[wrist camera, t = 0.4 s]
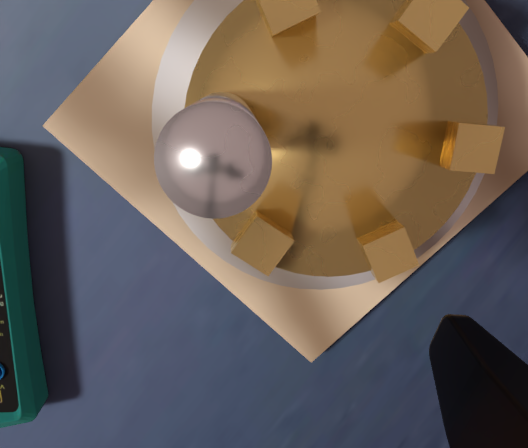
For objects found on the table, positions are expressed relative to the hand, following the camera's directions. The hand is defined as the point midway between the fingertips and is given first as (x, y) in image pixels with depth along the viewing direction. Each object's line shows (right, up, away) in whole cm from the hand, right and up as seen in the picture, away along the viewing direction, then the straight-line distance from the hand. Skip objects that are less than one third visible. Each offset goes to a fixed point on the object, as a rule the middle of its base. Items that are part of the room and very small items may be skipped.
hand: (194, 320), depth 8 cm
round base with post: (+4, +6, +12) cm, 14 cm away
